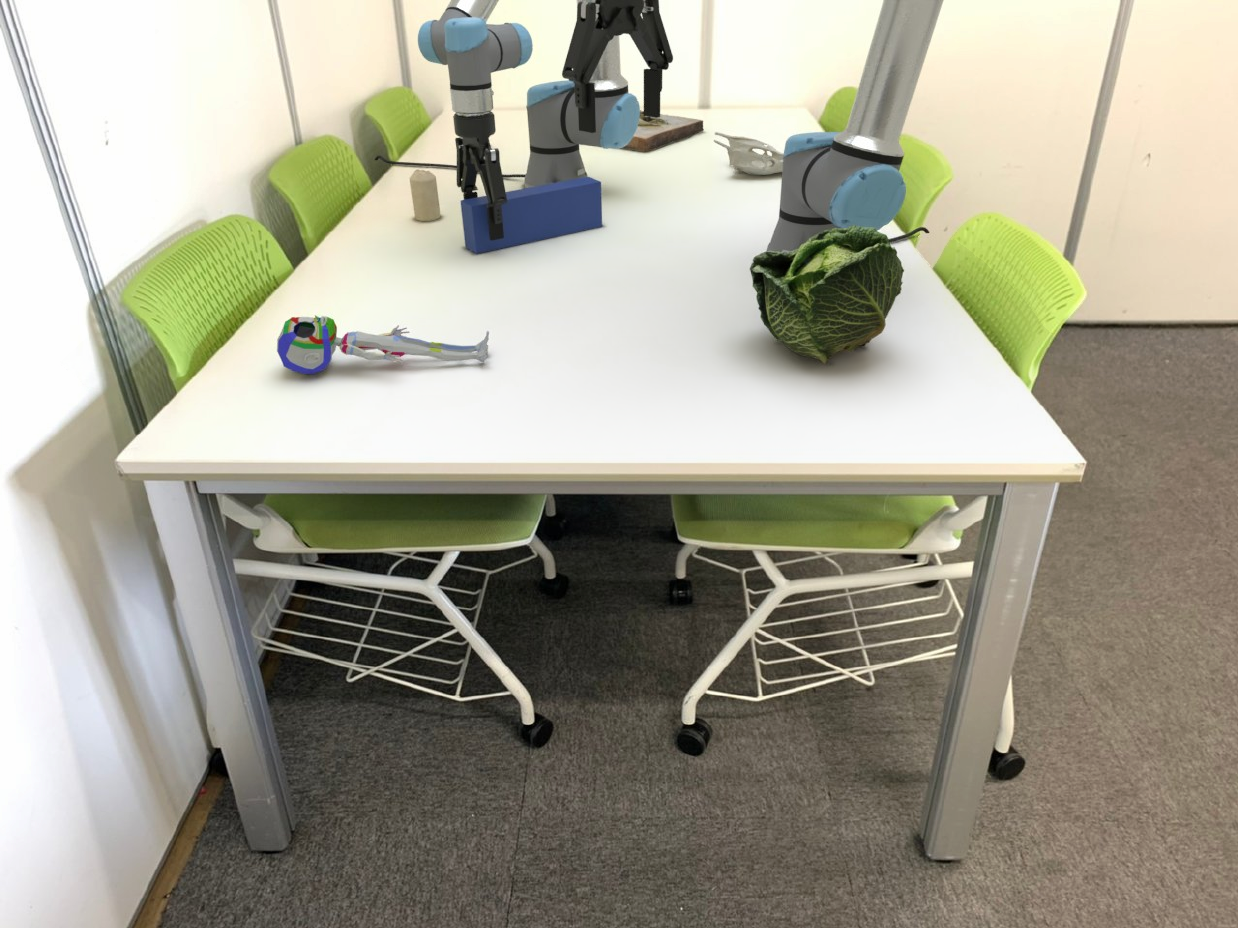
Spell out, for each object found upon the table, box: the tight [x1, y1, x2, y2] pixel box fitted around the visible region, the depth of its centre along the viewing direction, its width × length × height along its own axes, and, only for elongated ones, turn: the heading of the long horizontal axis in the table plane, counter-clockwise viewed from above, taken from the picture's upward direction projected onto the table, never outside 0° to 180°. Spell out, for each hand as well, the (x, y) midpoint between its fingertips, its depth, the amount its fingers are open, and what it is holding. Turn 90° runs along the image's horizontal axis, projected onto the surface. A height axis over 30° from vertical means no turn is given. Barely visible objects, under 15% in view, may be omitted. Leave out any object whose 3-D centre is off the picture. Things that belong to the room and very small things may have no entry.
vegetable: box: [749, 225, 905, 365], centre depth 131 cm, size 20×19×20 cm
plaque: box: [622, 109, 705, 152], centre depth 257 cm, size 30×7×30 cm
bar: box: [459, 176, 603, 255], centre depth 181 cm, size 29×5×9 cm, turn 124°
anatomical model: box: [713, 131, 784, 176], centre depth 220 cm, size 15×9×25 cm
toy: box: [276, 314, 490, 375], centre depth 132 cm, size 10×8×30 cm
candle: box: [409, 169, 441, 222], centre depth 192 cm, size 6×6×10 cm
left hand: (485, 232), depth 176 cm, fingers open, 9 cm apart
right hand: (620, 124), depth 132 cm, fingers open, 13 cm apart
